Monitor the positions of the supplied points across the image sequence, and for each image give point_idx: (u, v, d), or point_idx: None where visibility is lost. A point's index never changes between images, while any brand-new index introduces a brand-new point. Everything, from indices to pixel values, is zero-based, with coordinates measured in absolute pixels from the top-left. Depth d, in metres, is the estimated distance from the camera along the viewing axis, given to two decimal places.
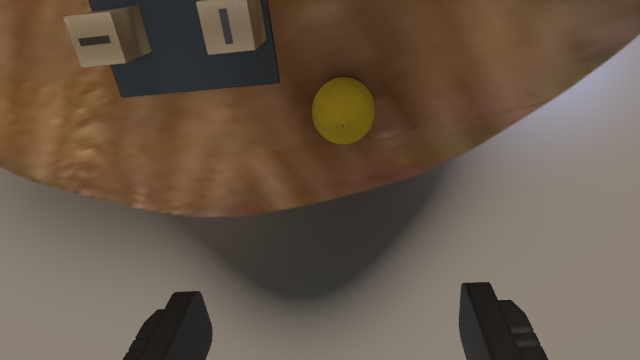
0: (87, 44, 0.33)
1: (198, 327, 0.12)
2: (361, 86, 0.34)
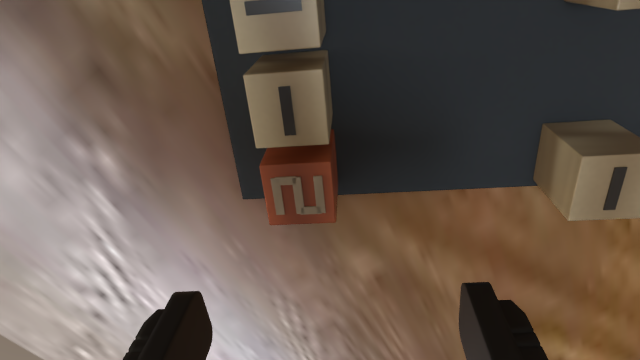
0: (617, 200, 0.22)
1: (198, 327, 0.12)
2: None
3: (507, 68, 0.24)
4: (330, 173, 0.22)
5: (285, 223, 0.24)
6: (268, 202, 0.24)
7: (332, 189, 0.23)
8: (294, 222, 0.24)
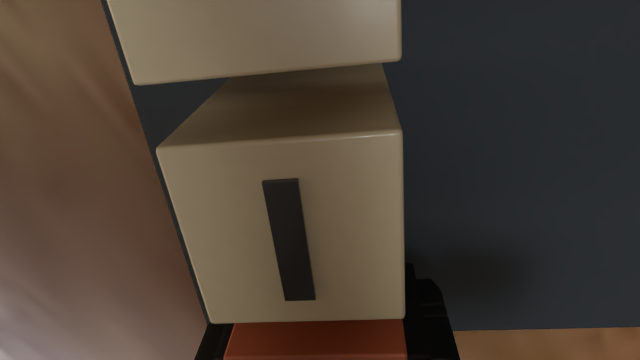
0: None
1: None
2: None
3: None
4: None
5: None
6: None
7: None
8: None
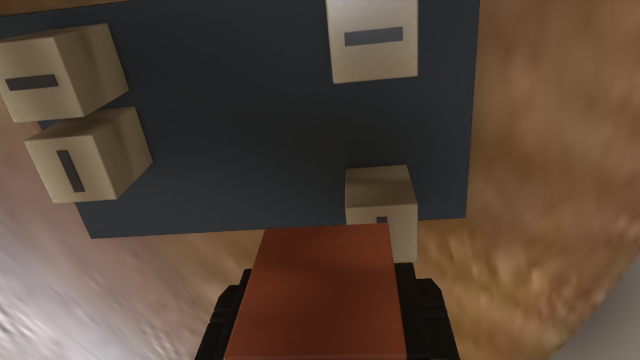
0: None
1: None
2: None
3: (301, 120, 0.26)
4: None
5: None
6: None
7: None
8: None
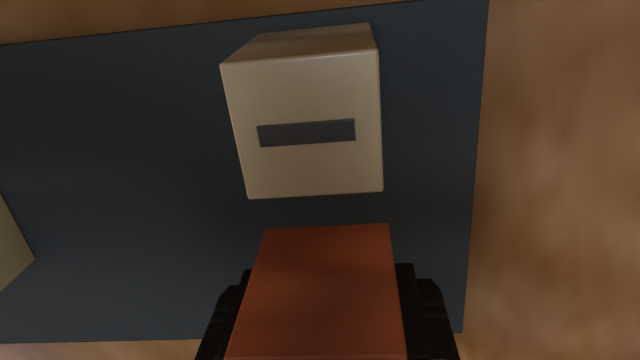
0: None
1: None
2: None
3: (231, 212, 0.18)
4: None
5: None
6: None
7: None
8: None
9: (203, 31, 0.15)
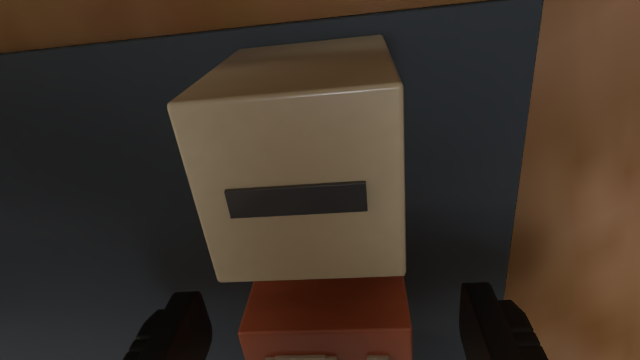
0: None
1: (198, 327, 0.12)
2: None
3: (212, 263, 0.15)
4: (409, 351, 0.09)
5: None
6: None
7: None
8: None
9: (168, 46, 0.11)
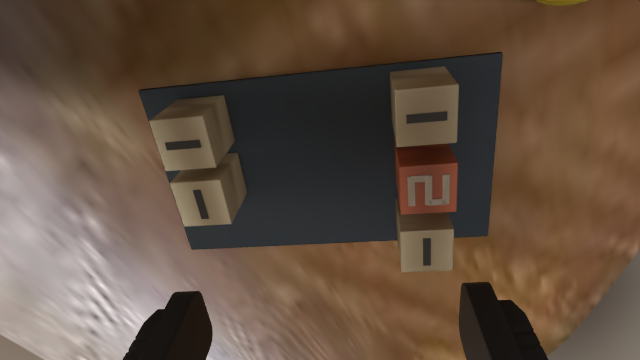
0: (430, 259, 0.32)
1: (198, 327, 0.12)
2: None
3: (363, 163, 0.34)
4: (456, 172, 0.28)
5: (414, 213, 0.30)
6: (402, 196, 0.29)
7: (456, 184, 0.29)
8: (422, 212, 0.30)
9: (363, 71, 0.30)
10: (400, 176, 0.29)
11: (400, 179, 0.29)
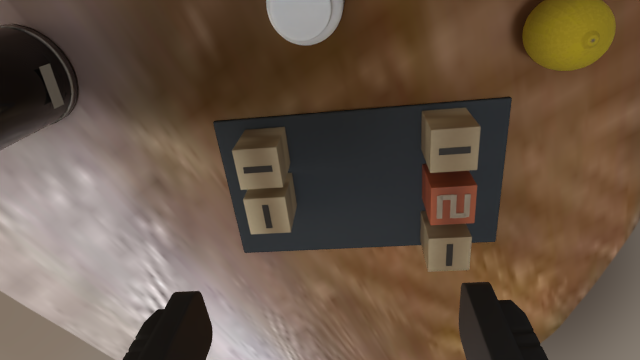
0: (451, 261, 0.39)
1: (198, 327, 0.12)
2: (541, 11, 0.29)
3: (395, 182, 0.41)
4: (476, 192, 0.36)
5: (441, 224, 0.38)
6: (432, 210, 0.37)
7: (475, 202, 0.36)
8: (447, 223, 0.38)
9: (400, 109, 0.38)
10: (431, 195, 0.36)
11: (431, 197, 0.36)
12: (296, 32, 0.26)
